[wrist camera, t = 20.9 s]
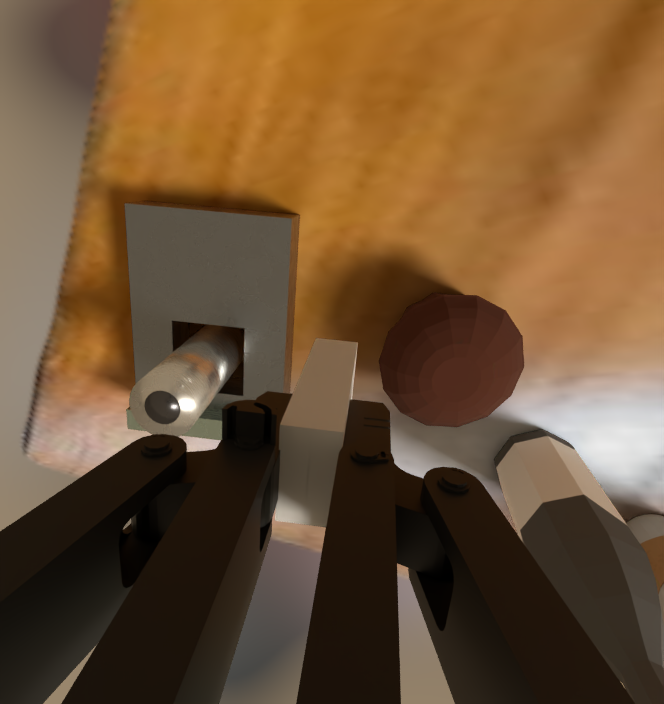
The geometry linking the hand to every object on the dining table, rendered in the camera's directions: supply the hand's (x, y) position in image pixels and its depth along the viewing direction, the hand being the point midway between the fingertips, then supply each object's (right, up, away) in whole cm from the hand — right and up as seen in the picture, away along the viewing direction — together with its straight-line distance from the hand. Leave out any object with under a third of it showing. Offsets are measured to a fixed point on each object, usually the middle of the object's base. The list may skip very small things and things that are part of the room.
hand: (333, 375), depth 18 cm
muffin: (+10, +2, +29) cm, 31 cm away
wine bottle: (+20, -10, +32) cm, 39 cm away
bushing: (-11, +2, +31) cm, 33 cm away
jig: (-11, +4, +30) cm, 32 cm away
